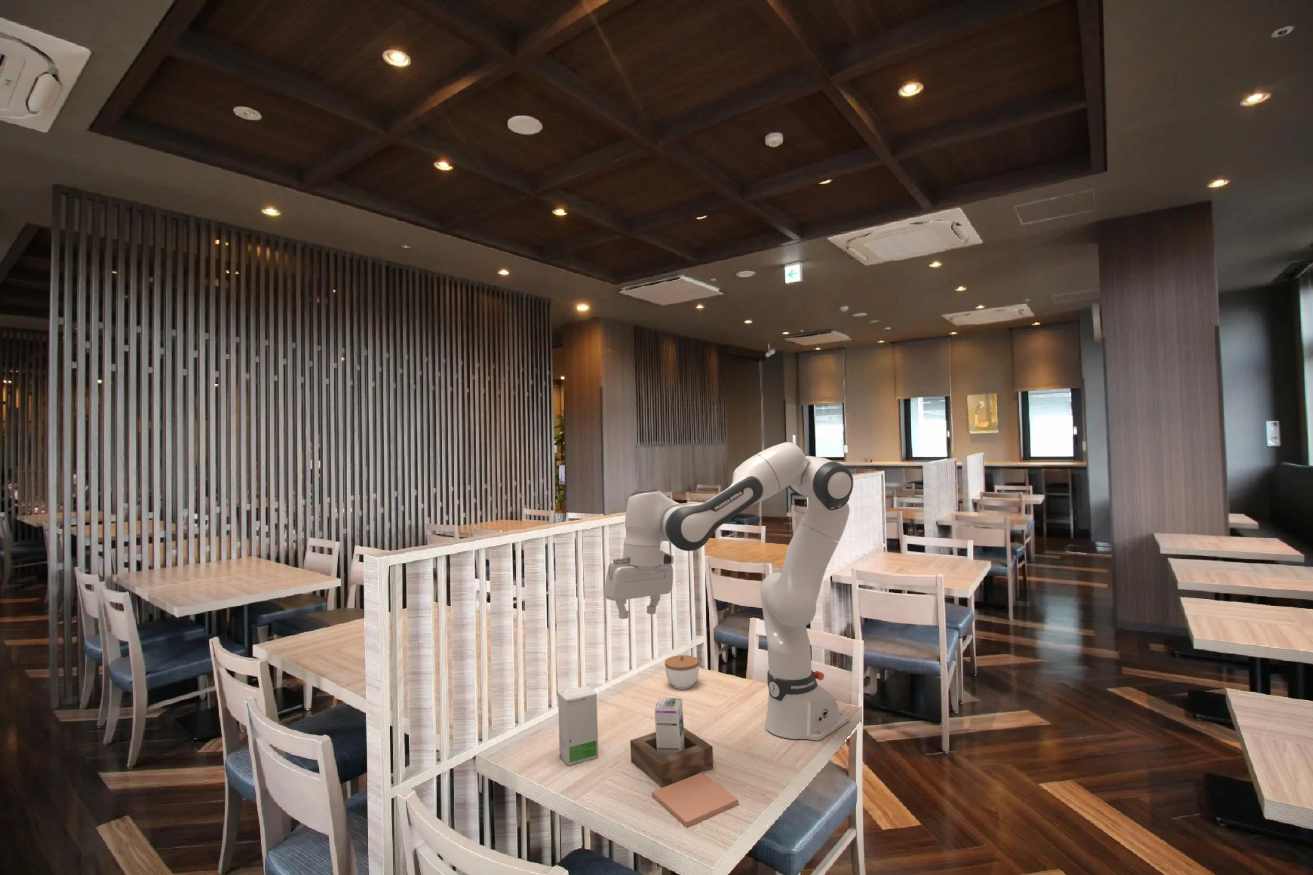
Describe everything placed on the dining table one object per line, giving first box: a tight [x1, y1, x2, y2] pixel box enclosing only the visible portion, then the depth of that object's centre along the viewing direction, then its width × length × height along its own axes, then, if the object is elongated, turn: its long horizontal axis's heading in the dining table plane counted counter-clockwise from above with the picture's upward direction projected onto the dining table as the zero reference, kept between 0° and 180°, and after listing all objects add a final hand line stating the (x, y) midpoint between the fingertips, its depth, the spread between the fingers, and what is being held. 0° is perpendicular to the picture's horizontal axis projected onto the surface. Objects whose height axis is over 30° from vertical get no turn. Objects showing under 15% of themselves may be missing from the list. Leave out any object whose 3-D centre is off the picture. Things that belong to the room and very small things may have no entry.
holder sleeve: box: [629, 727, 714, 788], centre depth 142 cm, size 14×14×5 cm
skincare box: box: [557, 685, 599, 766], centre depth 148 cm, size 8×7×16 cm
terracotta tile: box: [651, 772, 739, 828], centre depth 127 cm, size 13×13×1 cm
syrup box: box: [654, 697, 685, 757], centre depth 142 cm, size 6×6×14 cm
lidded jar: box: [664, 654, 700, 690], centre depth 189 cm, size 11×11×9 cm
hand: (637, 615), depth 143 cm, fingers open, 8 cm apart
